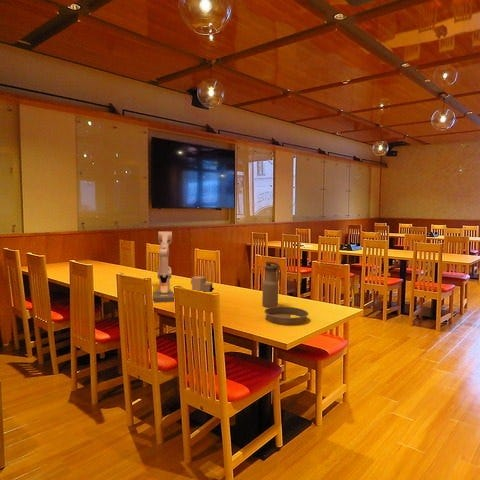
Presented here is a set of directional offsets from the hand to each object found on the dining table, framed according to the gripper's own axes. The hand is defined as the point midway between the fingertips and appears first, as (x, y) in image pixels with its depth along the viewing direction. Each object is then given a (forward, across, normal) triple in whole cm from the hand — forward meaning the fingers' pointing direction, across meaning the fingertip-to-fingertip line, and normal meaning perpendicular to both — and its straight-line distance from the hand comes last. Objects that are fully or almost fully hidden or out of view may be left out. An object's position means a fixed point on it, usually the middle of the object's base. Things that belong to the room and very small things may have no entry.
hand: (163, 286), depth 273 cm
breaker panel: (+7, +9, 0) cm, 11 cm away
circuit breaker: (+7, +15, +25) cm, 30 cm away
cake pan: (+8, +67, +65) cm, 94 cm away
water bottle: (+7, +37, +65) cm, 75 cm away
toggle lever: (+3, +7, 0) cm, 7 cm away
